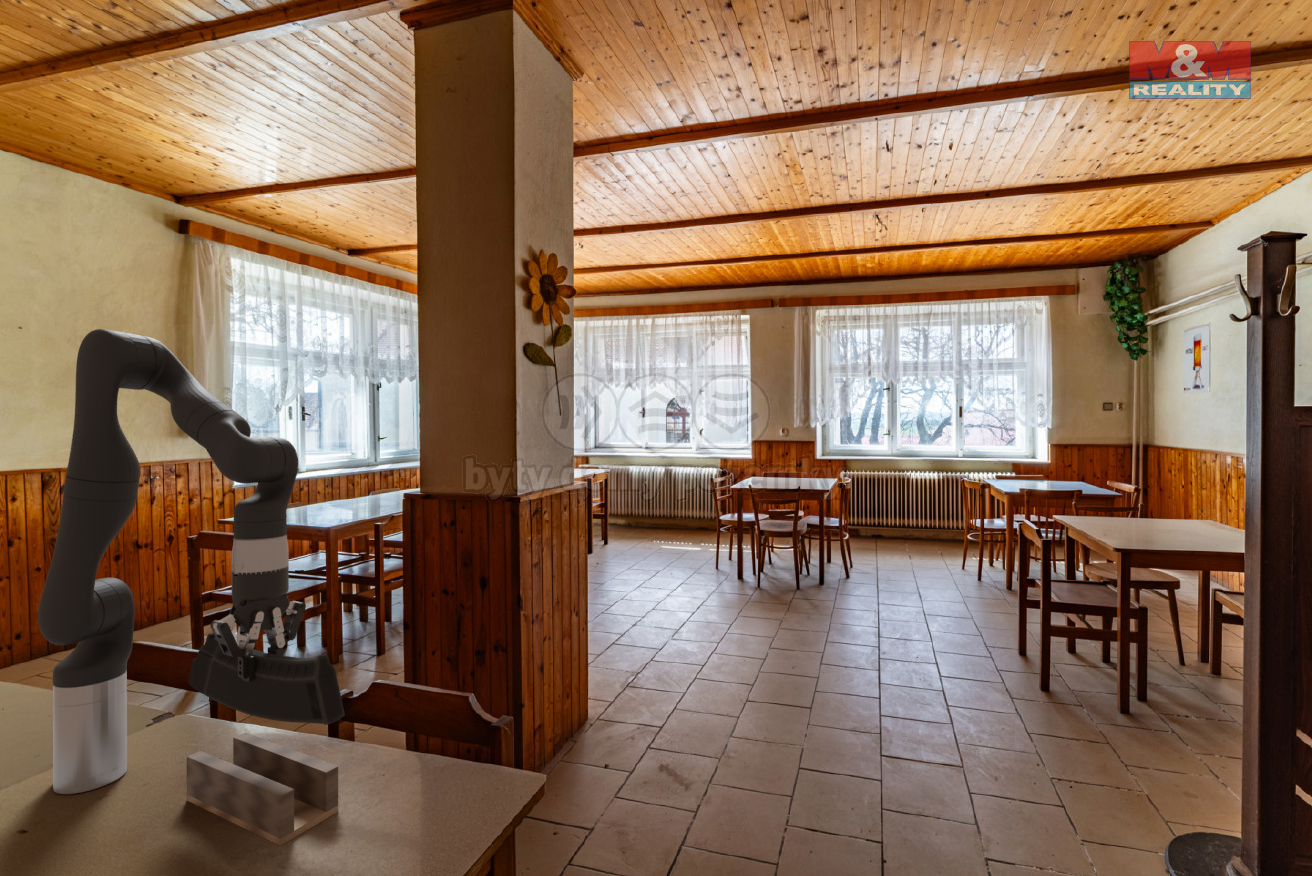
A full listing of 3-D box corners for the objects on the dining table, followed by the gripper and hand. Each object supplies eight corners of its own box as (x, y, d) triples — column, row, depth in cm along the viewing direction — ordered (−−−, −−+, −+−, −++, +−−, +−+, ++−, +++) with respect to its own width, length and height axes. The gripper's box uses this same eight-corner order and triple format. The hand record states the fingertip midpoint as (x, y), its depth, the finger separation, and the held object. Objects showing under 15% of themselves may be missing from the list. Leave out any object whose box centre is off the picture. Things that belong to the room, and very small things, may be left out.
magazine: (357, 666, 93) (225, 589, 103) (339, 674, 90) (204, 594, 100) (332, 770, 95) (205, 684, 105) (313, 781, 92) (184, 692, 102)
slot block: (186, 800, 99) (186, 756, 99) (245, 772, 107) (245, 732, 107) (280, 845, 88) (280, 796, 88) (338, 811, 96) (338, 766, 96)
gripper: (289, 555, 106) (289, 657, 106) (197, 571, 93) (197, 687, 93) (318, 559, 102) (318, 664, 102) (226, 577, 90) (226, 697, 90)
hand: (260, 674), depth 98 cm, fingers closed on magazine, 3 cm apart
